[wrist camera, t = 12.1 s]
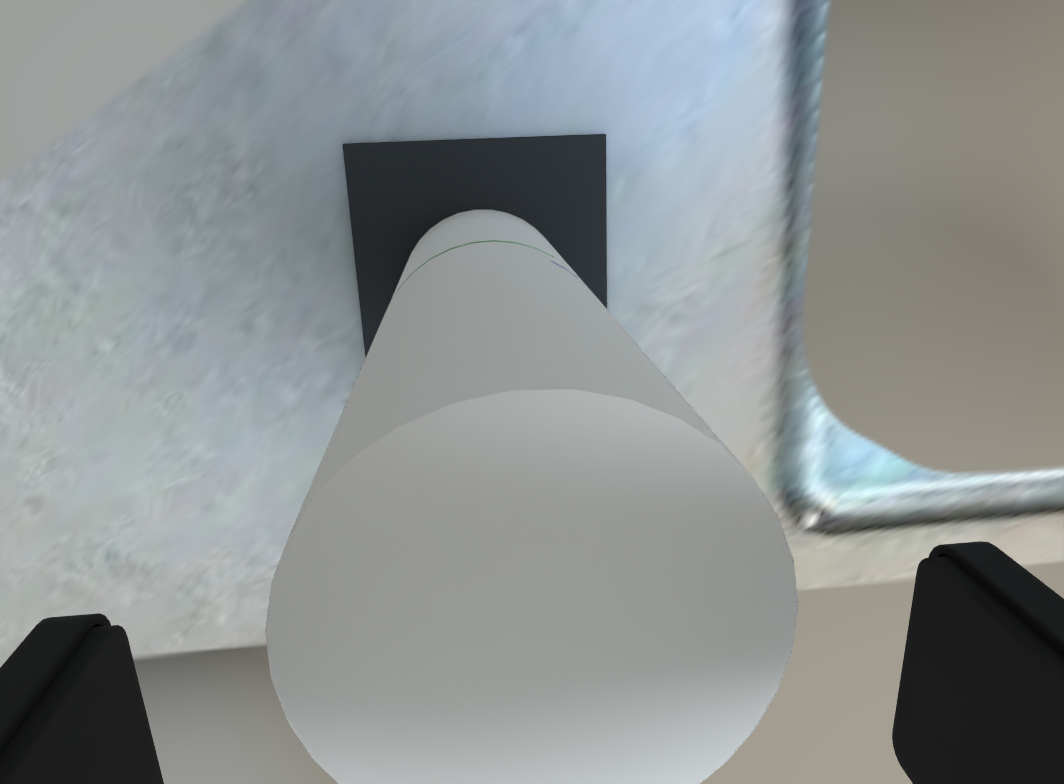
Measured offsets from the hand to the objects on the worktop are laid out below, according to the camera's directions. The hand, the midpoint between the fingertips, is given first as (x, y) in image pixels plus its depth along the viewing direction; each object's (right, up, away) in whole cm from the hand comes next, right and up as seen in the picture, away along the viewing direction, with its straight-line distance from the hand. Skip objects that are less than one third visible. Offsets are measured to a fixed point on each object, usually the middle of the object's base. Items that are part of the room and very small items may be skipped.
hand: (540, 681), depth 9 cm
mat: (-2, +8, +25) cm, 27 cm away
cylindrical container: (-2, +8, +25) cm, 26 cm away
